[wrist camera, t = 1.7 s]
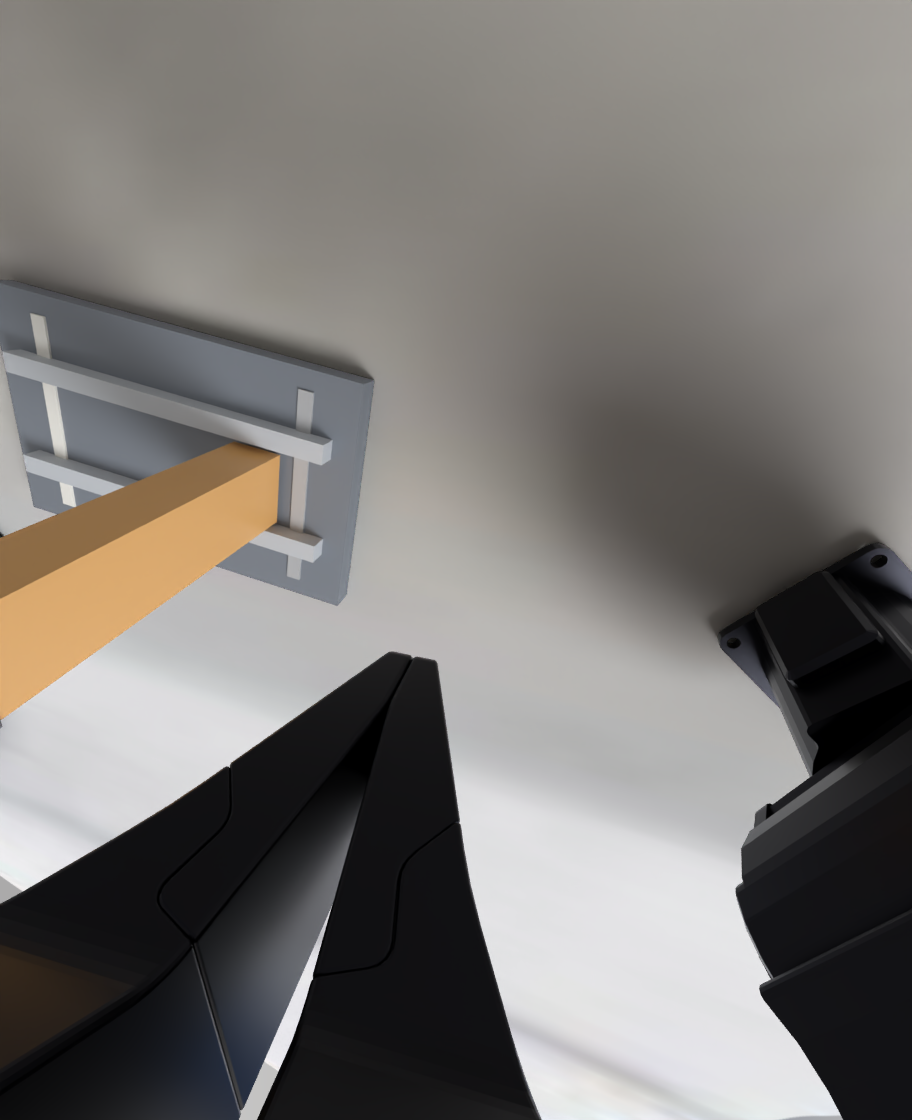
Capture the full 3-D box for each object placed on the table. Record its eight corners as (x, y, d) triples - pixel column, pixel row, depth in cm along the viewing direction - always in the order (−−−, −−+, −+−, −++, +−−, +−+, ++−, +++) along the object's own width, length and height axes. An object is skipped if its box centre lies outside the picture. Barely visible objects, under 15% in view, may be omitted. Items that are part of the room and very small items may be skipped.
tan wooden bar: (282, 453, 21) (-89, 643, 10) (278, 524, 22) (-45, 760, 11) (232, 438, 21) (-189, 606, 10) (232, 509, 23) (-131, 726, 11)
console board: (374, 380, 20) (355, 387, 18) (346, 594, 25) (329, 615, 23) (11, 280, 22) (-34, 279, 20) (52, 499, 27) (18, 512, 25)
